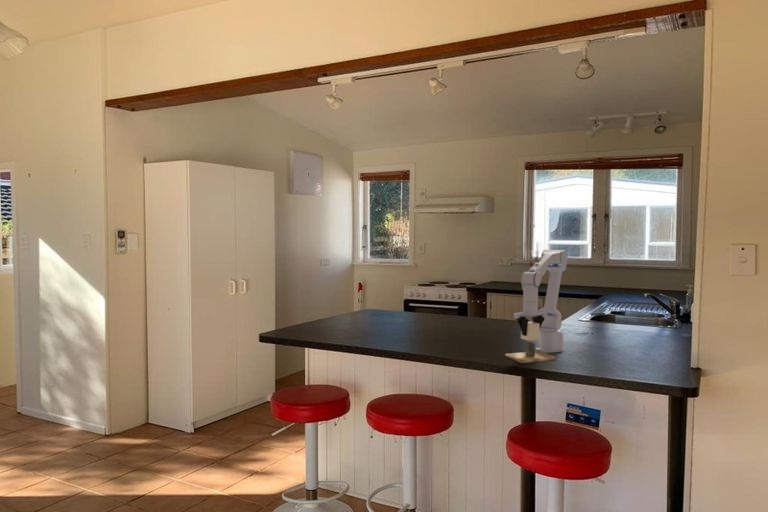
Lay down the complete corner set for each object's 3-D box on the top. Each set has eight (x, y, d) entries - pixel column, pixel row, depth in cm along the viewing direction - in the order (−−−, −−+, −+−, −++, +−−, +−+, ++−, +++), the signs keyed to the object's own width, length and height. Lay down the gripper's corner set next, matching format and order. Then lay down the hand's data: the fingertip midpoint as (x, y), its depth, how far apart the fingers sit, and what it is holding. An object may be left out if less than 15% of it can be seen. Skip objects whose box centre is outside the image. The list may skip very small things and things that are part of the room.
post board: (539, 353, 230) (539, 339, 229) (555, 359, 218) (556, 345, 218) (505, 356, 225) (505, 341, 225) (520, 362, 214) (520, 347, 213)
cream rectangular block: (531, 337, 225) (531, 321, 225) (539, 339, 220) (539, 323, 220) (520, 338, 223) (520, 322, 223) (528, 340, 218) (528, 324, 218)
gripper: (539, 299, 227) (539, 331, 228) (509, 301, 222) (509, 334, 222) (550, 301, 220) (549, 334, 221) (519, 303, 215) (519, 337, 216)
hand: (530, 334), depth 221 cm, fingers closed on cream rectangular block, 5 cm apart
